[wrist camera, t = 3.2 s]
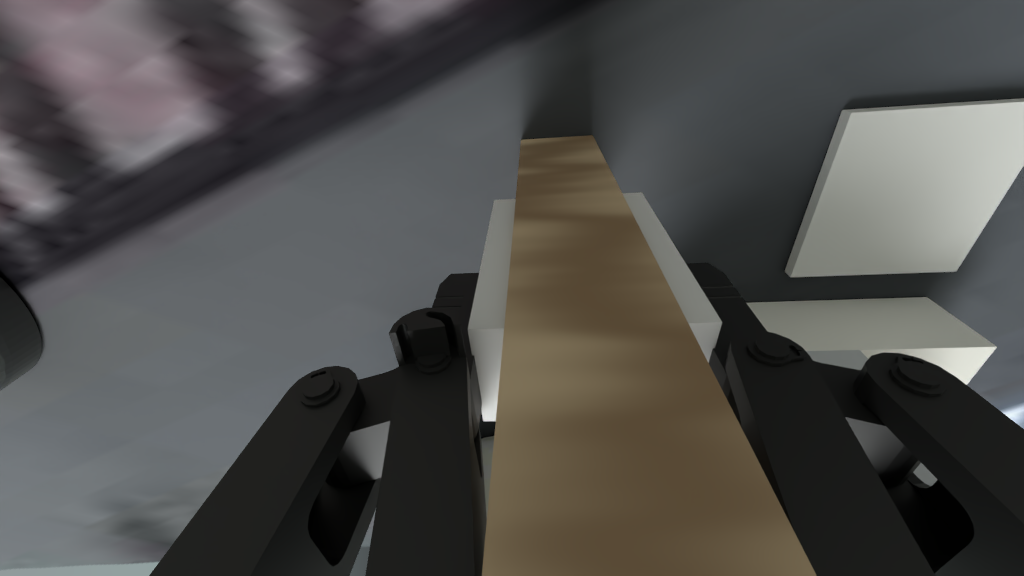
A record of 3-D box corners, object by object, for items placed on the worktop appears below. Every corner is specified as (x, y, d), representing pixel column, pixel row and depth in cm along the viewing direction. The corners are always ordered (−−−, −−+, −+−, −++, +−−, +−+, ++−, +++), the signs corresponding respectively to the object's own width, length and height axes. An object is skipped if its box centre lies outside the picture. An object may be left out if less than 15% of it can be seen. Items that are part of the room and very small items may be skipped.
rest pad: (784, 271, 21) (790, 277, 21) (842, 109, 17) (851, 112, 17) (946, 265, 21) (956, 271, 20) (1049, 96, 16) (1065, 98, 16)
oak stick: (524, 206, 20) (503, 760, 5) (521, 139, 18) (472, 692, 3) (589, 203, 20) (766, 773, 5) (592, 135, 18) (883, 707, 3)
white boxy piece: (612, 445, 30) (649, 643, 21) (628, 306, 23) (696, 511, 14) (837, 443, 29) (986, 653, 20) (926, 296, 22) (1233, 515, 12)
